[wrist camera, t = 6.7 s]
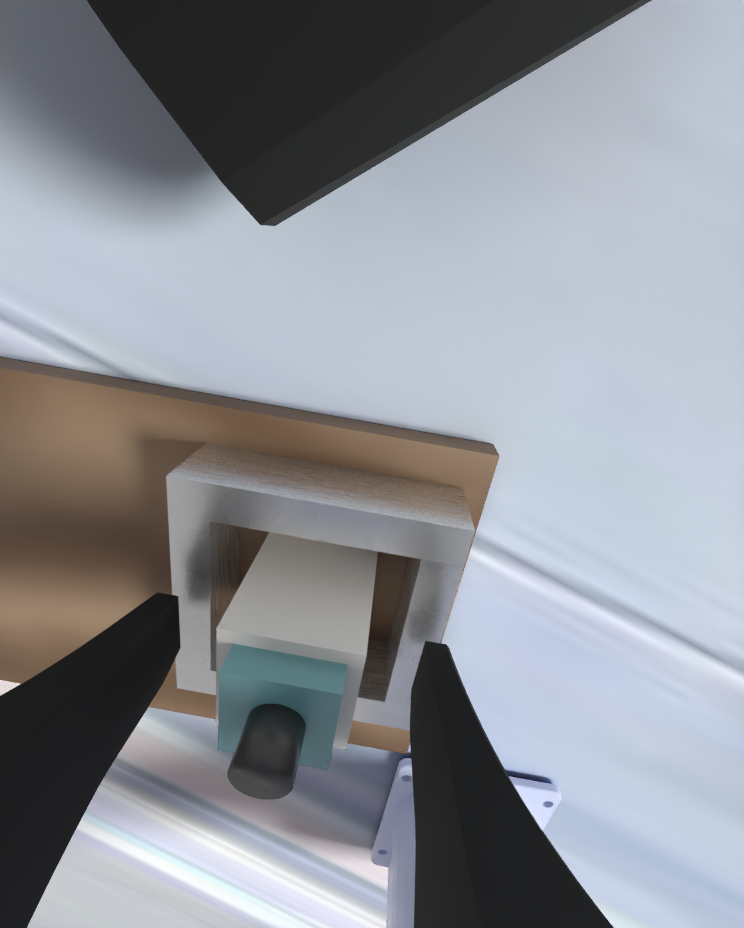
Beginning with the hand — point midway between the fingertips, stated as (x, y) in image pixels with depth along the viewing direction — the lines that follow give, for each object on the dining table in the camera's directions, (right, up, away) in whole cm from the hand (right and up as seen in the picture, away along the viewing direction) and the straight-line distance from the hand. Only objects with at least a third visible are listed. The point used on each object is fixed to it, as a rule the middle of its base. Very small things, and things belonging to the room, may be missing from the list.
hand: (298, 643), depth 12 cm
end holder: (0, +1, +3) cm, 3 cm away
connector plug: (0, +1, +3) cm, 3 cm away
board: (-5, +1, +5) cm, 7 cm away
